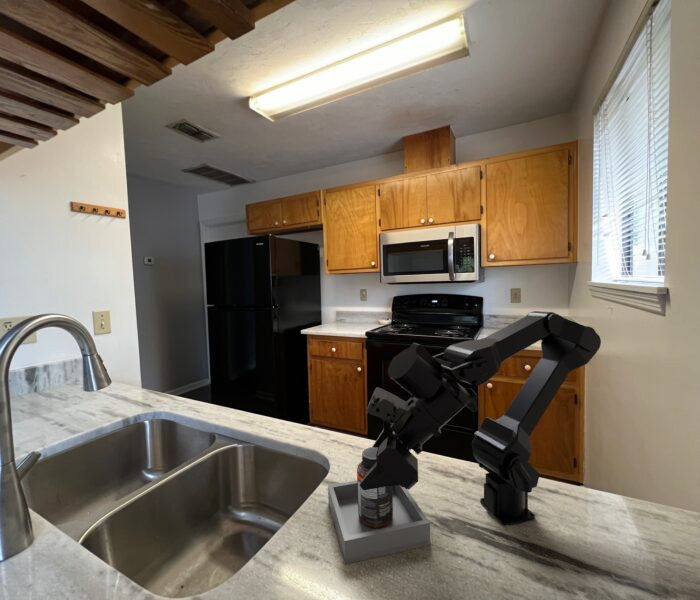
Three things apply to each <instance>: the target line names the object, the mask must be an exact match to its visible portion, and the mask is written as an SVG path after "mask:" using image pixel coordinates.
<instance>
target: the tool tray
mask: <svg viewBox="0 0 700 600" xmlns="http://www.w3.org/2000/svg"><path fill="white" fill-rule="evenodd" d="M357 487H358V486H357V480H352V481H351V480H350V481H346V482H340V483H334V484H329V485H327V496H328V497H327V498H328V499H327V500H328V507H329V510H330V514H331V519H332V521H333V525H334V529H335V533H336V536H337V540H338V543H339V549H340V552H341V555H342V559H343V563H344V565H349V564H353V563H357V562H363V561H366V560H370V559H375V558H378V557H383V556H388V555H393V554H397V553H401V552H405V551H409V550H414V549H418V548H423V547H426V546H431V522H430V521H429V519H428V518H427V516H426V515H425V513H424V512H423V510H422V509H421V507H420V506H419V505H418V503H417V501H416V500H415V498H414V497H413V496H412V494H411V493H410V491H409V490H408V489H405V488H404V487H401V486H400V485H396V486H392V497H393V518H392V520H391V522H390V523H389V524H388V525H387V526H385V527H382V528H371V527H368V526H366V525H364V524H363V523H362V522H361V520H360V519H359V513H358V504H357V503H358V489H357Z"/></svg>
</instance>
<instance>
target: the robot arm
mask: <svg viewBox="0 0 700 600" xmlns="http://www.w3.org/2000/svg"><path fill="white" fill-rule="evenodd" d="M539 341H540V342H541V343H540V344H541V345H540V347H541V357H540V359H539V361H538V363H537V364H536V365H535V367H534V368H533V370H532V371H531V373H530V375H529V376H528V377H527V379H526V381H525V382H524V384H523V385H522V387H521V388H520V390H519V392H518V393H517V394H516V396H515V397H514V399H513V400H512V402H511V404H510V405H509V406H508V408H507V409H506V410H505V412H504V414H503V415H502V416H501V417H499V418H497V419H495V420H494V419H493V418H491V417H486V418H485V419H484V420H483V421H482V424H481V425H480V427H479V428H478V429H477V430H476V431H475V432H474V433H473V435H474V439H473V440H472V443H471V447H472V454H473V458H474V459H475V460H476V461H477V464H478V467H480V468H481V469H483V470H485V471H486V473H485V483H484V484H483V497H482V498H480V499H479V503H480V504H481V505H483V506H484V507H485V509H486V510H487V511H488V512H489V513H490V514H491V515H492V516H493V517H494V518H495V519H497V521H498V522H499V523H500V524H501V525H503V526H510V525H514V524H519V523H523V522H529V521H532V520H536V514H535V513H533V512H532V511H531V510H530V509H529V494H530V493H532V492H533V491H532V490H533V489H534V488H536V487H538V483H539V479H540V473H539V472H538V470H536V469H535V468H534V467H533V466H532V465H531V464H530V463H529V460H530V457H531V455H532V451H531V450H532V449H531V435H532V433H533V432H534V430H535V429H536V427H537V425H538V424H539V421H540V420H541V418H542V417H543V415H544V414H545V412H546V410H547V409H548V407H549V406H550V405H551V403H552V401H554V400H553V399H554V398H555V397H556V394H557V393H558V391H560V388H561V387H562V385H563V384H564V382H565V380H566V379H567V377H568V376H569V374H570V373H571V372H573V371H575V370H576V369H578V368H581V367H583V366H585V365H587V364H588V363H589V362H590V361H591V360H592V358H594V357H595V355H596V354H597V353H598V351H599V350H600V349H601V343H602V341H601V336H600V335H599V334H598V333H597V332H596V329H594V327H591V326H587V325H584V324H581V323H578V322H575V321H573V320H571V319H567V318H565V317H563V316H561V315H560V314H558V313H555V312H554V311H553V312H552V311H537V310H533V311H531V312H528V313H527V314H526V315H525V316H524V317H522V318H520V319H518V320H516V321H514V322H512V323H510V324H508V325H507V326H505V327H503V328H501V329H499V330H497V331H496V332H493V333H491V334H489V335H488V336H485V337H482V338H479V339H471V340H465V341H461V342H458V343H454V344H451V345H449V346H448V347H446V348H445V349H444V351H443V352H441V353H438V354H435V355H433V356H432V354H430V353H429V352H428V351H427V349H426V348H425V346H423V345H422V344H419V343H416V342H412V343H411V345H410V346H409V347H408V348H405V349H403V350H402V351H400V353H398V354H397V355H395V356H393V358H392V360H391V361H390V363H389V365H388V368H387V369H388V370H387V375H388V377H389V378H390V380H391V379H392V380H393V381H394V382H395V383H396V385H397V384H398V385H399V386H400V387H401V388H402V389H403V390H405V391H406V392H407V393H408V394H410V396H412V397H409V399H408V400H406V401H405V400H404V399H402V398H400V397H399V396H397V395H395V394H393V393H392V392H389V391H387V390H385V389H383V388H381V387H379V386H377V387H376V388H375V389H374V391H373V393H372V395H371V398H370V400H369V403H368V405H367V408H366V412H367V413H368V414H370V415H371V416H376V417H377V418H379V419H382V420H383V424H382V425H383V429H382V431H381V432H380V434H379V435H378V436H377V438H376V440H375V442H374V443H373V445H372V446H371V447H377V453H376V460H377V461H376V463H375V464H374V465H373V467H372V468H371V469H370V471H369V472H368V473H367V474H366V476H365V477H364V478H363V480H362V481H361V483H360V487H361V488H362V489H363V490H369V489H374V488H380V487H386V486H396V485H400V486H401V487H404V488H405V489H407V490H408V491H409V490H410V489H411V488H413V487H414V486H415V485H416V484H417V483H418V482H419V461H418V458H417V457H416V456H415V455H414V454H413V453H412V452H411V450H412V451H413V452H415V454H416V455H420V454H421V452H423V445H424V444H425V443H426V442H427V441H428V440H429V439H431V437H433V436H434V437H435V438H436V439H437V438H438V437H440V436H441V434H442V430H441V429H442V427H443V426H445V425H446V424H447V423H448V422H449V421H451V420H452V418H454V417H455V416H456V415H457V414H458V413H459V412H461V410H463V408H465V407H467V408H468V409H469V410H470V411H471V412H473V413H476V412H478V404H477V402H478V401H477V399H478V397H479V396H478V395H477V393H476V392H475V391H474V390H473V389H472V388H471V387H470V388H466V387H463V386H462V385H460V384H459V383H458V382H457V381H461V382H464V383H466V384H468V385H472V386H475V387H478V386H479V387H481V386H483V385H485V384H486V383H487V382H488V381H489V380H490V379H492V378H493V377H494V376H495V375H496V374H498V372H500V371H499V370H500V368H501V365H502V364H503V363H504V361H507V359H509V358H511V357H513V356H515V355H516V354H519V353H520V352H521V351H524V350H526V349H527V348H529V347H531V346H533V345H534V344H536V343H537V342H539ZM445 376H447V377H450V378H444V377H445ZM451 378H452V379H451ZM454 379H455V380H454ZM456 380H457V381H456Z"/></svg>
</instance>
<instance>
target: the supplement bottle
mask: <svg viewBox="0 0 700 600" xmlns="http://www.w3.org/2000/svg"><path fill="white" fill-rule="evenodd" d="M376 453H377V447H372V446H371V447H367V448H365V449H363V450H362V453H361V461H360V462H359V464H358V465H357V467H356V479H357V480H356V481H357V486H358V487H357V489H358V503H357V504H358V513H359V519H360V520H361V522H362V523H363V524H364V525H366V526H368V527H371V528H382V527H385V526H387V525H388V524H389V523H390V522H391V520H392V518H393V497H392V486H386V487H380V488H374V489H369V490H363V489H362V488H361V487H360V483H361V481H362V480H363V478H364V477H365V476H366V474H367V473H368V472H369V471H370V469H371V468H372V467H373V465H374V464H375V463H376V461H377V460H376Z"/></svg>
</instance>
